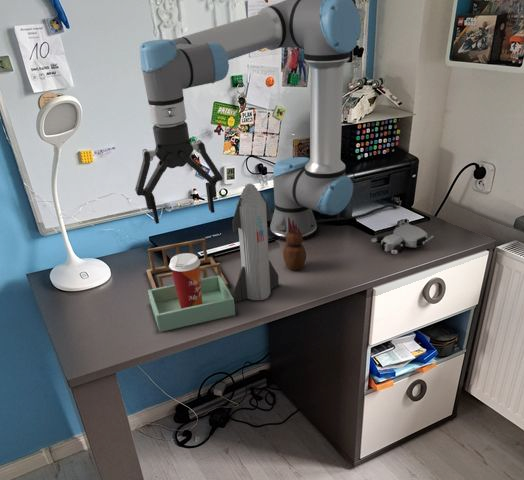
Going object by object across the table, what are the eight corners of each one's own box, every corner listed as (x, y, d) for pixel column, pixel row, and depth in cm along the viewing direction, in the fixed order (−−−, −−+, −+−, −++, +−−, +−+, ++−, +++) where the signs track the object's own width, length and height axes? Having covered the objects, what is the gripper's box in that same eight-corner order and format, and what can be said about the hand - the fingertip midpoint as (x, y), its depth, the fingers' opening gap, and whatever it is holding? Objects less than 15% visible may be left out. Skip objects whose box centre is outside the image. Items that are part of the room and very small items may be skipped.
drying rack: (212, 260, 160) (209, 237, 156) (228, 287, 146) (225, 262, 142) (147, 273, 156) (142, 249, 151) (157, 302, 142) (152, 277, 137)
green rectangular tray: (221, 290, 145) (219, 274, 142) (235, 314, 135) (233, 298, 132) (151, 305, 141) (147, 289, 138) (159, 332, 130) (156, 315, 127)
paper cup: (201, 316, 134) (194, 267, 125) (173, 314, 135) (163, 265, 127) (210, 300, 140) (203, 252, 131) (182, 298, 141) (174, 251, 133)
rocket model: (271, 280, 148) (266, 173, 130) (286, 290, 143) (282, 181, 125) (228, 296, 142) (216, 187, 124) (242, 307, 137) (232, 195, 119)
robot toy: (394, 263, 154) (434, 247, 158) (395, 249, 151) (435, 233, 156) (368, 248, 163) (407, 233, 167) (368, 234, 160) (407, 219, 164)
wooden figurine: (280, 265, 155) (278, 217, 146) (297, 260, 157) (296, 212, 148) (292, 275, 150) (290, 225, 141) (309, 269, 152) (309, 220, 143)
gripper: (113, 136, 108) (135, 232, 121) (229, 118, 114) (238, 211, 127) (109, 127, 114) (130, 220, 127) (220, 111, 120) (229, 201, 132)
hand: (184, 216), depth 127 cm, fingers open, 13 cm apart
